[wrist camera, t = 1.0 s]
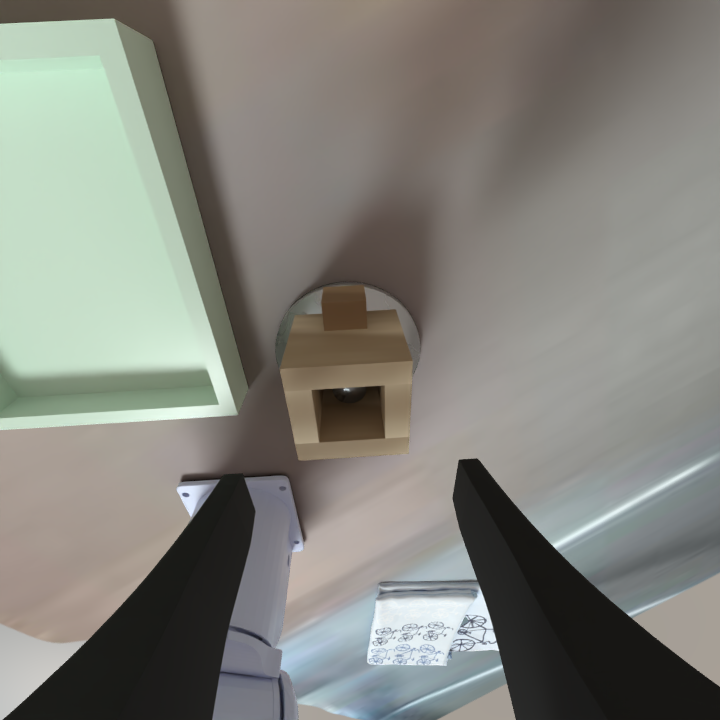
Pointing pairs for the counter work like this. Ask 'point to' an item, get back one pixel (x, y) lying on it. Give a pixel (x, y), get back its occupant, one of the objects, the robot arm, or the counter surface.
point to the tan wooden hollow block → (348, 379)
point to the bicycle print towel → (428, 623)
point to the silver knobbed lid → (374, 301)
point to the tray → (102, 240)
